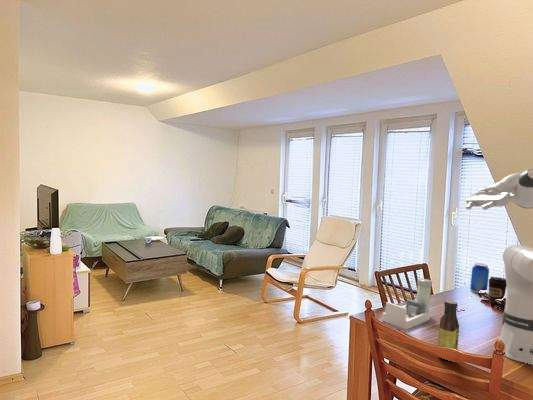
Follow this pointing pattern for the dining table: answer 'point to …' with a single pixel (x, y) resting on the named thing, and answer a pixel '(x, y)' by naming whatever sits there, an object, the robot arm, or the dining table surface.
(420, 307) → the pusher
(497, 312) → the dining table surface
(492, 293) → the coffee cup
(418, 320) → the pusher lane
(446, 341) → the sauce bottle
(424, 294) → the jar
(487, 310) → the dining table surface
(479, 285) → the beer can
